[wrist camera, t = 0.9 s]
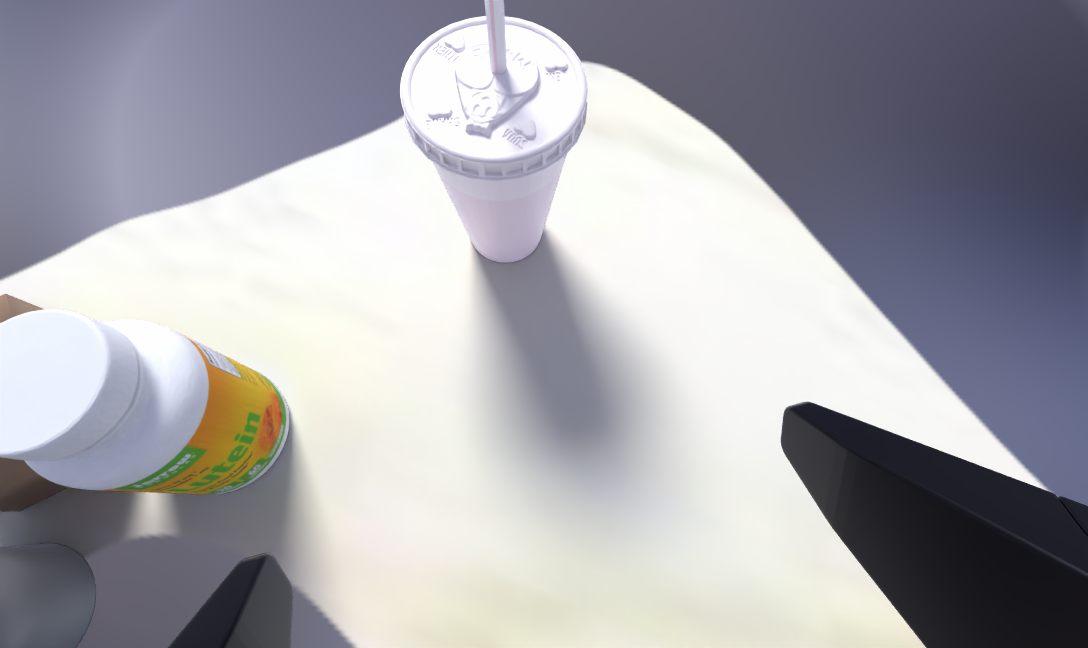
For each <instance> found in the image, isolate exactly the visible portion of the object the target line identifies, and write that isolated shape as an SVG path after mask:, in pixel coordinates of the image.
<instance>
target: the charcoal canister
mask: <svg viewBox="0 0 1088 648" xmlns="http://www.w3.org/2000/svg"><path fill="white" fill-rule="evenodd" d="M95 600H96V586H95V580H94V576H93V573H92V571H91V569H90V567H89V565H88V563H87V562H86V560H85V559H84V558H83V557H82V556H81V555H80V554H79V553H78V552H76V551H74V550H73V549H71V548H69V547H66V546H63V545H59V544H51V543H46V544H33V545H20V546H7V547H0V648H76V647H77V646H78V644H79V643H80V642H81V640H82V638H83V636H84V635H85V633H86V631H87V629H88V626H89V624H90V621H91V619H92V615H93V612H94V607H95Z"/></svg>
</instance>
